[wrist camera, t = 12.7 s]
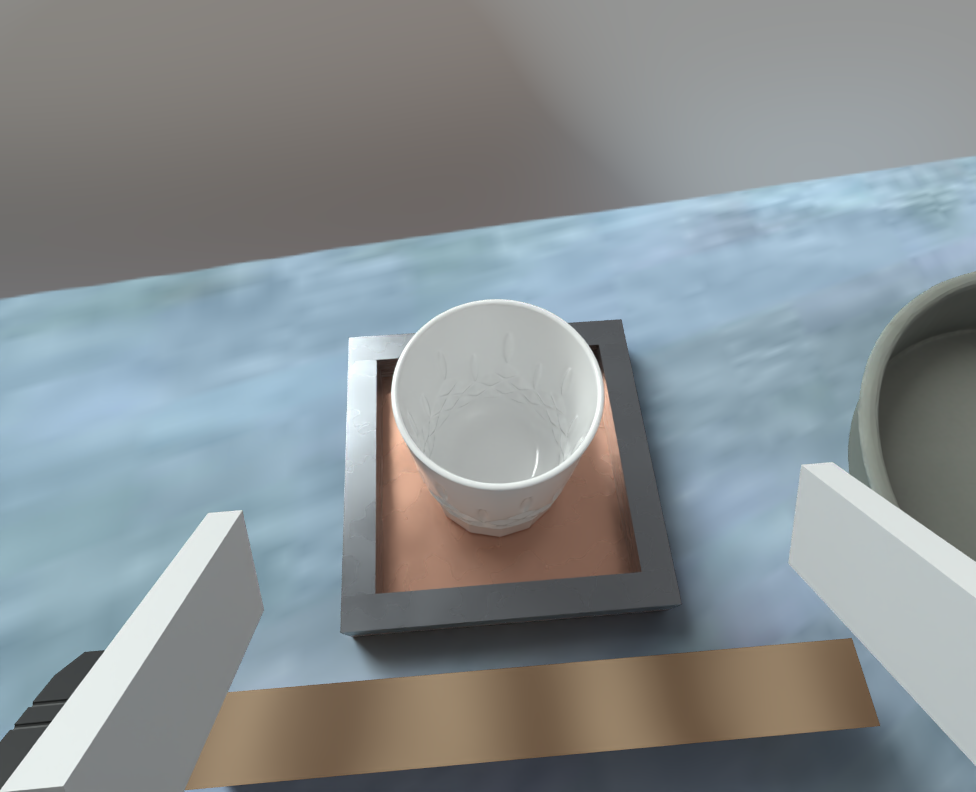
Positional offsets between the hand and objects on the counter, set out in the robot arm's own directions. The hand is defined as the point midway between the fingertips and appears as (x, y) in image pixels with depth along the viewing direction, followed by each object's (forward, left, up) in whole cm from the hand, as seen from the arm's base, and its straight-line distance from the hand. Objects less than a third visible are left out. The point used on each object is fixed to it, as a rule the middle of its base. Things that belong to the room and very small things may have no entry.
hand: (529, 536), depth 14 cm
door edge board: (0, -4, -16) cm, 16 cm away
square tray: (0, +7, -16) cm, 17 cm away
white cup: (0, +7, -16) cm, 17 cm away
